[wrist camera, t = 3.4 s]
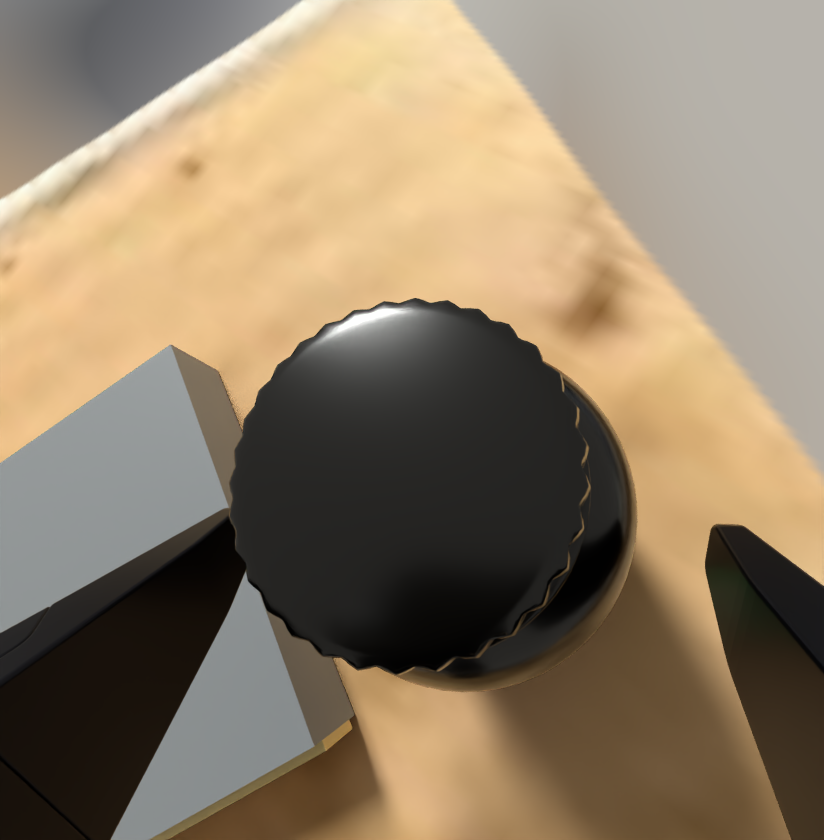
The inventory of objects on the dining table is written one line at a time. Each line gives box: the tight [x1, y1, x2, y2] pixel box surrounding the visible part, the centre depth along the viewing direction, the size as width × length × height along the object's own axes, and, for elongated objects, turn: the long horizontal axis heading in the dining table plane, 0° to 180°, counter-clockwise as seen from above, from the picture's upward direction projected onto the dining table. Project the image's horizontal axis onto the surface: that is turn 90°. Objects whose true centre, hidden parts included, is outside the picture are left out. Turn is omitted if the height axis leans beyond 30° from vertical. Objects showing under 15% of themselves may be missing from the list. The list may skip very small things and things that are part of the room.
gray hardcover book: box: [0, 345, 355, 840], centre depth 19 cm, size 16×20×3 cm
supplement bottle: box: [229, 298, 637, 692], centre depth 11 cm, size 7×7×12 cm
